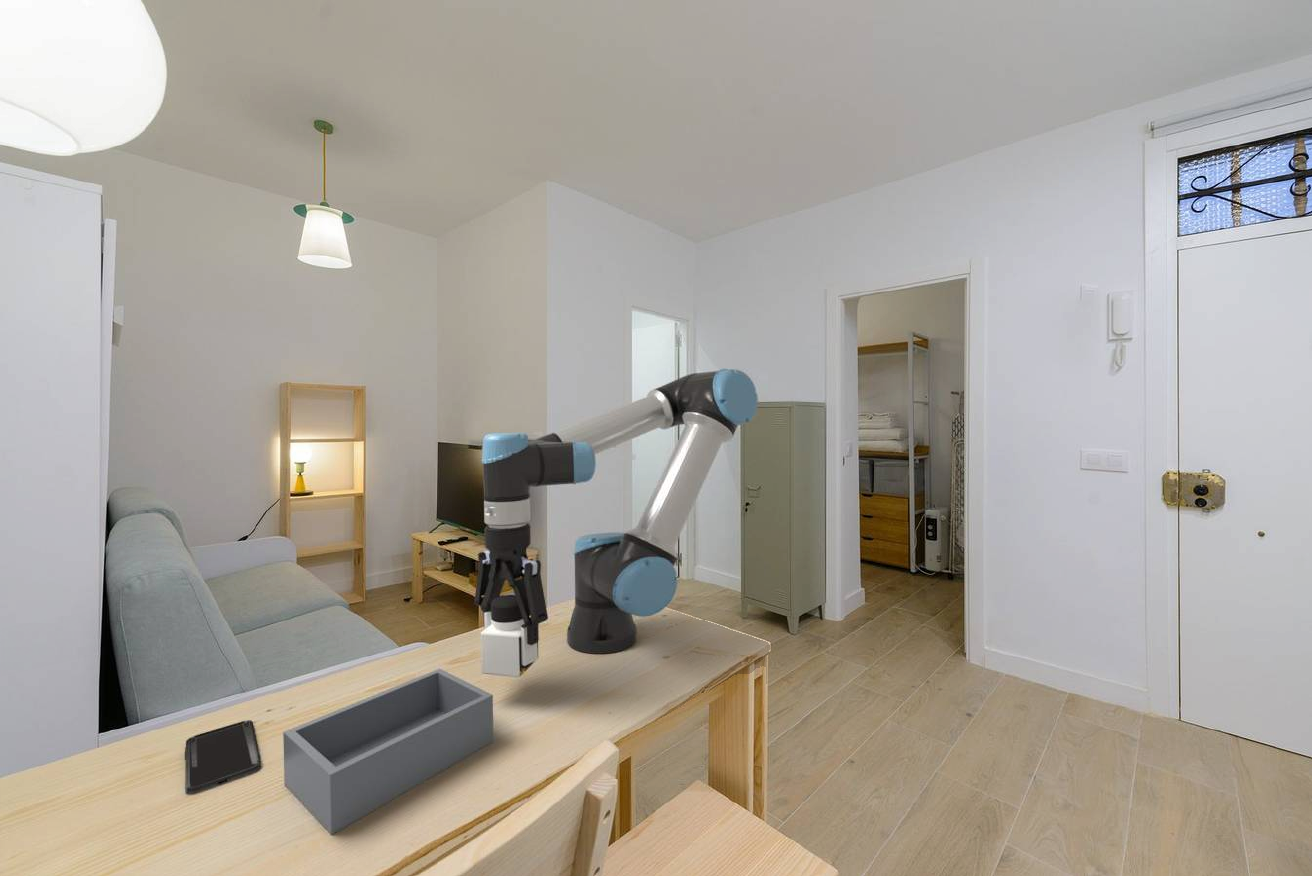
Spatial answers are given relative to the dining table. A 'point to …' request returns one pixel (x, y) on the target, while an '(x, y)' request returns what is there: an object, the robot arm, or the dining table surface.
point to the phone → (220, 756)
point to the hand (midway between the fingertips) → (510, 654)
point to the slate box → (384, 746)
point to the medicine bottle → (503, 639)
